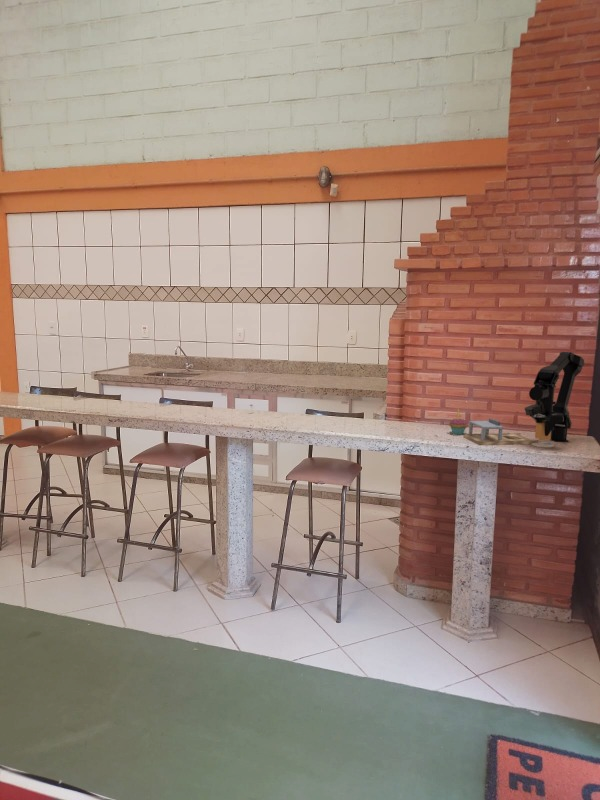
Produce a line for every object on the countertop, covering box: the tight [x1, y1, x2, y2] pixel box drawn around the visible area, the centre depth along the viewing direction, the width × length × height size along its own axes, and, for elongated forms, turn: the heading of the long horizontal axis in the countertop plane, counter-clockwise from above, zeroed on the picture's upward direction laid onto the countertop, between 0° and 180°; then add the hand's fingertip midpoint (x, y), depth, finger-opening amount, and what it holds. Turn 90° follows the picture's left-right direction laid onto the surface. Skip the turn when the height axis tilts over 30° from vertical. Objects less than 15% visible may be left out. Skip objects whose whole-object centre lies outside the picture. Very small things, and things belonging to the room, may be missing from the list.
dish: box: [530, 440, 555, 448], centre depth 245 cm, size 9×9×1 cm
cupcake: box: [448, 408, 469, 436], centre depth 265 cm, size 9×8×12 cm
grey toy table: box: [468, 418, 504, 441], centre depth 250 cm, size 9×14×8 cm, turn 8°
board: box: [462, 432, 540, 446], centre depth 252 cm, size 27×16×2 cm, turn 98°
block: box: [534, 422, 552, 441], centre depth 244 cm, size 4×4×6 cm
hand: (543, 434), depth 245 cm, fingers closed on block, 4 cm apart
